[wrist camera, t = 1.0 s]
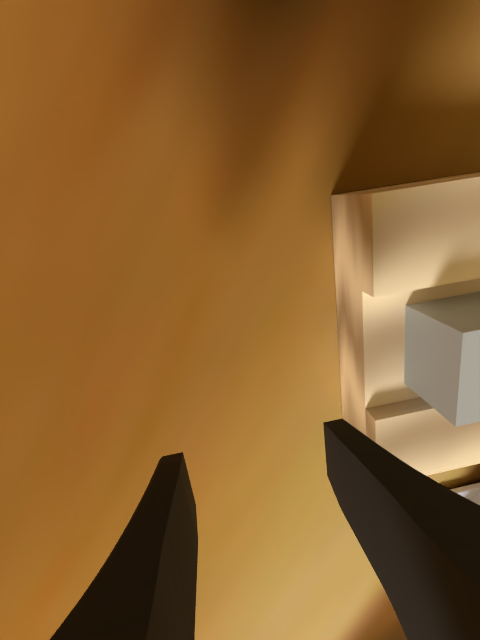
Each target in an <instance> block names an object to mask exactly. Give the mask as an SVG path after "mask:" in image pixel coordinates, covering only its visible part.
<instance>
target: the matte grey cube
mask: <svg viewBox="0 0 480 640" xmlns="http://www.w3.org/2000/svg"><path fill="white" fill-rule="evenodd" d="M404 383H405V384H406V385H407V386H408V387H409V388H411V389H412V390H413V391H414V392H415V393H416V394H418V395H419V396H420V397H421V398H422V399H423V400H425V401H426V402H427V403H428V404H429V405H430V406H432V407H433V408H434V409H435V410H436V411H438V412H439V413H440V414H441V415H442V416H443V417H445V418H446V419H447V420H448V421H449V422H450V423H452V424H453V425H454V426H455V427H457V426H462V425H466V424H471V423H475V422H480V291H479V292H474V293H468V294H463V295H457V296H452V297H447V298H441V299H436V300H431V301H425V302H420V303H415V304H409V305H406V306H405V361H404Z"/></svg>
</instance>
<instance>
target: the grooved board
mask: <svg viewBox="0 0 480 640" xmlns="http://www.w3.org/2000/svg"><path fill="white" fill-rule="evenodd" d="M331 206H332V225H333V244H334V263H335V282H336V301H337V320H338V339H339V358H340V377H341V397H342V416H343V419H344V420H345V421H347V422H348V423H349V424H351V425H352V426H354V427H355V428H356V429H358V430H359V431H360V432H362V433H363V434H365V435H366V436H367V437H369V438H370V439H371V440H373V441H374V442H376V443H377V444H378V445H380V446H381V447H383V448H384V449H386V450H387V451H388V452H390V453H391V454H393V455H394V456H396V457H397V458H399V459H400V460H402V461H403V462H405V463H406V464H408V465H409V466H411V467H413V468H414V469H416V470H417V471H419V472H421V473H422V474H424V475H426V476H427V475H431V474H436V473H440V472H444V471H449V470H453V469H458V468H462V467H466V466H471V465H475V464H479V463H480V422H475V423H471V424H466V425H462V426H457V427H455V426H454V425H453V424H452V423H450V422H449V421H448V420H447V419H446V418H445V417H443V416H442V415H441V414H440V413H439V412H438V411H436V410H435V409H434V408H433V407H432V406H430V405H429V404H428V403H427V402H426V401H425V400H423V399H422V398H421V397H420V396H419V395H418V394H416V393H415V392H414V391H413V390H412V389H411V388H409V387H408V386H407V385H406V384H405V383H404V361H405V306H406V305H409V304H415V303H420V302H425V301H431V300H436V299H441V298H447V297H452V296H457V295H463V294H468V293H474V292H479V291H480V172H476V173H470V174H463V175H457V176H451V177H444V178H438V179H432V180H425V181H419V182H412V183H406V184H400V185H393V186H387V187H381V188H374V189H368V190H362V191H355V192H349V193H343V194H336V195H331Z"/></svg>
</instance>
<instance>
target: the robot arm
mask: <svg viewBox="0 0 480 640" xmlns="http://www.w3.org/2000/svg"><path fill="white" fill-rule="evenodd" d="M324 436H325V450H326V463H327V475H328V478H329V480H330V483H331V485H332V488H333V491H334V493H335V495H336V498H337V500H338V503H339V505H340V507H341V509H342V511H343V513H344V515H345V517H346V519H347V521H348V523H349V524H350V526H351V528H352V530H353V532H354V534H355V536H356V538H357V539H358V541H359V543H360V545H361V547H362V549H363V550H364V552H365V554H366V556H367V558H368V560H369V561H370V563H371V565H372V567H373V569H374V571H375V573H376V574H377V576H378V578H379V580H380V582H381V584H382V585H383V587H384V589H385V591H386V593H387V595H388V597H389V599H390V601H391V603H392V606H393V608H394V610H395V612H396V615H397V617H398V619H399V621H400V624H401V626H402V628H403V630H404V633H405V635H406V637H407V639H408V640H480V483H476V484H471V485H467V486H463V487H458V488H454V489H448V488H446V487H444V486H443V485H441V484H439V483H437V482H436V481H434V480H432V479H431V478H429V477H427V476H426V475H424V474H422V473H421V472H419V471H417V470H416V469H414V468H413V467H411V466H409V465H408V464H406V463H405V462H403V461H402V460H400V459H399V458H397V457H396V456H394V455H393V454H391V453H390V452H388V451H387V450H386V449H384V448H383V447H381V446H380V445H378V444H377V443H376V442H374V441H373V440H371V439H370V438H369V437H367V436H366V435H365V434H363V433H362V432H360V431H359V430H358V429H356V428H355V427H354V426H352V425H351V424H349V423H348V422H347V421H345V420H344V419H339V420H334V421H329V422H324ZM197 555H198V532H197V516H196V504H195V500H194V496H193V492H192V488H191V484H190V480H189V475H188V471H187V467H186V463H185V459H184V455H183V452H182V453H177V454H172V455H167V456H163V457H162V458H161V459H160V460H159V462H158V465H157V467H156V469H155V472H154V474H153V476H152V478H151V480H150V482H149V485H148V487H147V489H146V491H145V493H144V495H143V497H142V499H141V501H140V502H139V504H138V506H137V508H136V510H135V512H134V514H133V516H132V518H131V520H130V521H129V523H128V525H127V527H126V528H125V530H124V532H123V534H122V535H121V537H120V539H119V540H118V542H117V544H116V545H115V547H114V549H113V550H112V552H111V554H110V555H109V557H108V559H107V560H106V562H105V563H104V565H103V566H102V568H101V569H100V571H99V573H98V574H97V576H96V577H95V579H94V580H93V581H92V583H91V584H90V586H89V587H88V589H87V590H86V592H85V593H84V594H83V596H82V597H81V599H80V600H79V601H78V603H77V604H76V605H75V607H74V608H73V610H72V611H71V612H70V614H69V615H68V616H67V618H66V619H65V620H64V622H63V623H62V624H61V626H60V627H59V628H58V630H57V631H56V632H55V634H54V635H53V636H52V637H51V639H50V640H194V632H195V607H196V582H197Z"/></svg>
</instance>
